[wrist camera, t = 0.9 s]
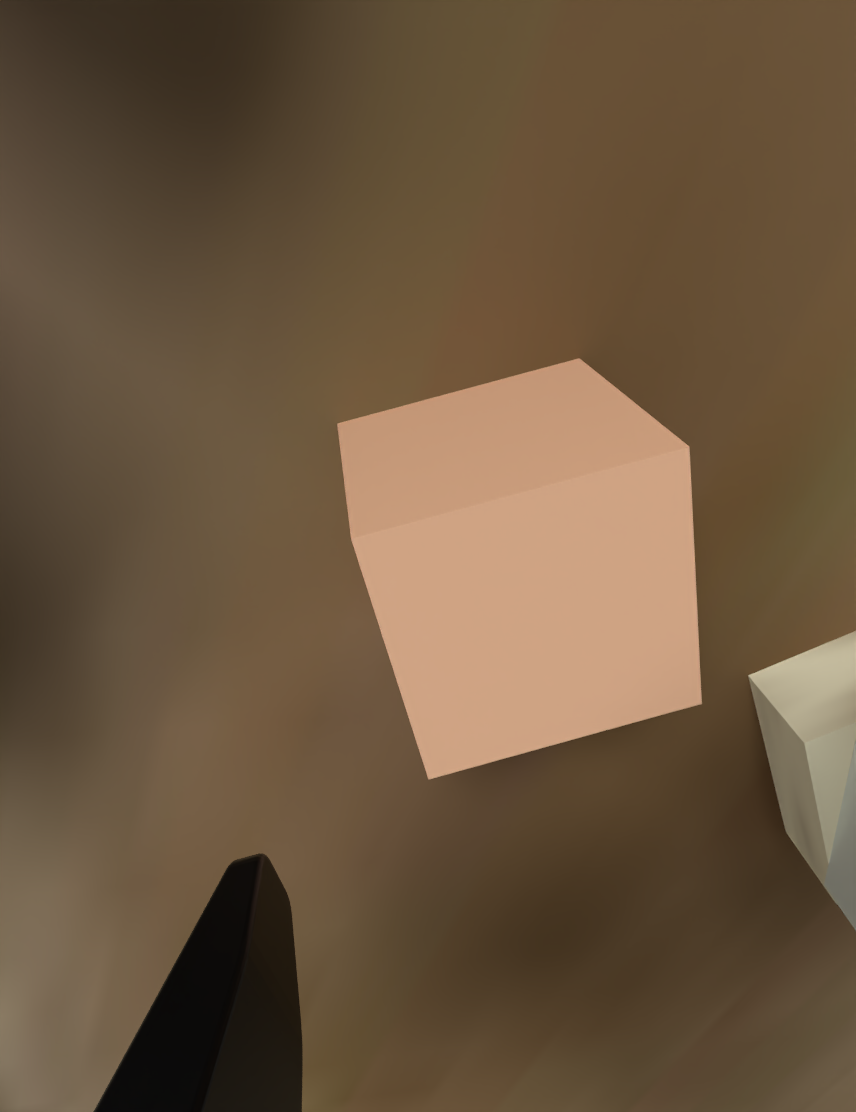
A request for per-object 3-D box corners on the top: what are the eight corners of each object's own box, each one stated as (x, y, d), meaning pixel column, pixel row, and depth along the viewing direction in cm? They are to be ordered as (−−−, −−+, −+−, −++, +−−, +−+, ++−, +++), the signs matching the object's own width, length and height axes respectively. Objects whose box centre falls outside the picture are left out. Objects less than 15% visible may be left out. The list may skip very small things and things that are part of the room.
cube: (578, 357, 15) (689, 446, 11) (603, 564, 18) (701, 703, 13) (337, 422, 15) (351, 539, 11) (397, 620, 17) (428, 779, 13)
